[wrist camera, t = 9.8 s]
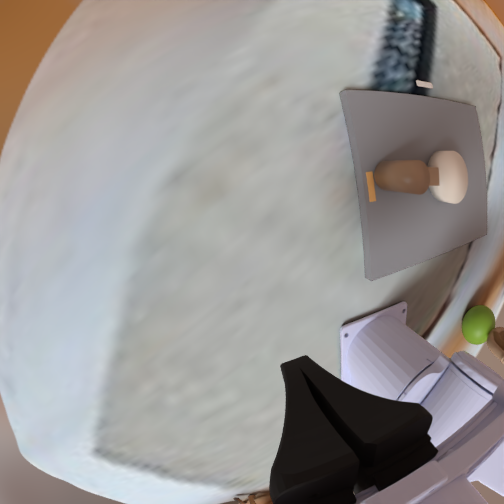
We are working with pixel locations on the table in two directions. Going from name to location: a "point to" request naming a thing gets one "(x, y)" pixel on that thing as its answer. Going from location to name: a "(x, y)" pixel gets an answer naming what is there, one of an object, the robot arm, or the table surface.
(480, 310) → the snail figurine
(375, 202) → the stud board
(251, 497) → the lion figurine
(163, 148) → the table surface
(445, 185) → the brown white rounded rod
